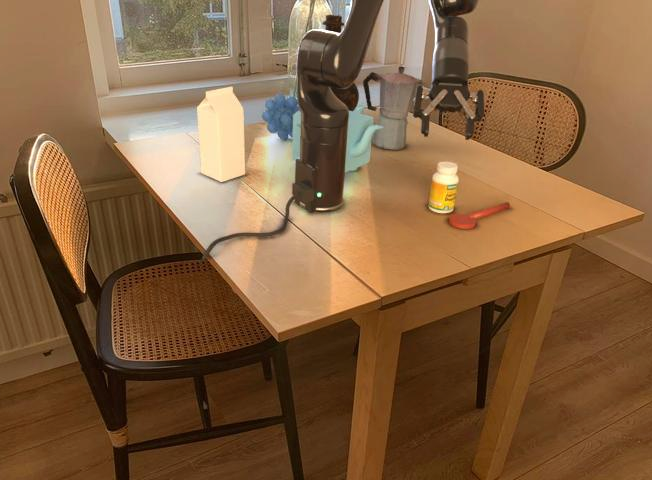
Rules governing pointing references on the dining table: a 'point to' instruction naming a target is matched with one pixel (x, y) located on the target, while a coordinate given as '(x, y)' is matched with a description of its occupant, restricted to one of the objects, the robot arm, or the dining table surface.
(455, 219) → the red spoon
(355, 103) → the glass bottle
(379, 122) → the moka pot
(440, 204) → the supplement bottle
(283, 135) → the grapes
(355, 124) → the teakettle
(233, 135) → the milk carton
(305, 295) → the dining table surface
